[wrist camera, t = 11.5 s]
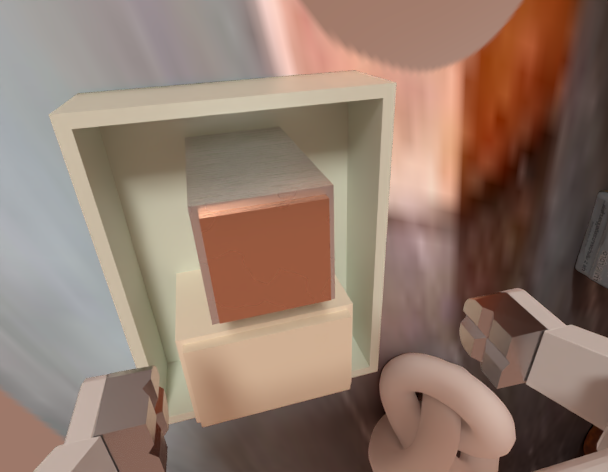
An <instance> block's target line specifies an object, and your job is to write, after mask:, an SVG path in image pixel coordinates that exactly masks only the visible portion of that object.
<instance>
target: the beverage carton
mask: <svg viewBox="0 0 608 472" xmlns="http://www.w3.org/2000/svg"><path fill="white" fill-rule="evenodd" d="M575 269H576V270H577V271H578V272H580V273H582V274H584V275H586V276H587V277H588V278H589V279H591V280H592V281H594V282H597V283H598V284H600V285H601V286H603V287H605V288H607V289H608V190H604V191H600V192H599V193H598V195H597V199H596V203H595V206H594V209H593V212H592V216H591V219H590V222H589V225H588V228H587V231H586V234H585V237H584V240H583V243H582V246H581V249H580V252H579V255H578V258H577V262H576V265H575Z"/></svg>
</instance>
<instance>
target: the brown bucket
mask: <svg viewBox="0 0 608 472" xmlns="http://www.w3.org/2000/svg"><path fill="white" fill-rule="evenodd" d="M603 432H604V431H603V430H601V429H600V428H598V427H596V426H595V425H593V427H592V428H591V429H590V431H589V433H588V435H587V437H586V439H585V441H584V447H583V449H584V454H585V455H588V454H591V453H594V452H598V451H597V443H598V441H599V439H600V437H601V435H602V433H603Z"/></svg>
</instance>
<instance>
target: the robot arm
mask: <svg viewBox="0 0 608 472" xmlns="http://www.w3.org/2000/svg"><path fill="white" fill-rule="evenodd" d="M463 311H464V312H465V314H466V315H467V316H466V317H465V319H464V320H463V321H462V322H461V324H460V331H459V334H460V338H461V342H462V344H463V346H464V348H465V350H466V351H467V353H468V354H469V355H470V357H472V358H474V359H476V360H478V361H480V362H481V370H482V371H483V373H484V374H485V375H486V376H487V378H488V379H489V380H490V381H491V382H492V384H493V385H494V386H495V387H496V389H499V388H503V387H508V386H512V385H516V384H521V383H525V382H526V384H527V385H528V386H530V387H532V388H533V389H535V390H537V391H538V392H540V393H542V394H543V395H545V396H547V397H548V398H550V399H552V400H553V401H555V402H557V403H558V404H560V405H562V406H563V407H565V408H567V409H568V410H570V411H572V412H573V413H575V414H577V415H578V416H580V417H582V418H583V419H585V420H587V421H588V422H590V423H592V424H593V425H595V426H596V427H598V428H600V429H601V430H603V431H604V432H603V433H602V435H601V437H600V439H599V441H598V443H597V451H598V452H594V453H591V454H588V455H585V456H582V457H578V458H575V459H572V460H569V461H565V462H562V463H559V464H556V465H552V466H549V467H546V468H543V469H540V470H536V471H533V472H608V338H607V337H604V336H601V335H598V334H596V333H593V332H590V331H588V330H585V329H582V328H579V327H577V326H574V325H567V326H566V325H565V324H564V323H563V322H562V321H560V320H559V319H558V318H557V317H556V316H554V315H553V314H552V313H551V312H550V311H548V310H547V309H546V308H545V307H544V306H542V305H541V304H540V303H539V302H538V301H537V300H535V299H534V298H533V297H532V296H531V295H529V294H528V293H527V292H526V291H525V290H523V289H520V288H515V289H511V290H506V291H502V292H497V293H493V294H488V295H484V296H479V297H475V298H470V299H468V300H467V301H466V302H465V305H464V309H463ZM159 379H160V376H159V373H158V370H157V367H156V366H154V365H153V366H148V367H142V368H137V369H131V370H126V371H121V372H115V373H110V374H107V375H102V376H96V377H91V378H86V379H85V380H84V382H83V383H82V385H81V388H80V391H79V394H78V398H77V401H76V405H75V408H74V412H73V415H72V418H71V422H70V425H69V429H68V432H67V436H66V439H65V443H64V445H60V446H56V447H55V449H54V450H53V451H52V452H51V453H50V454H49V455H48V456H47V457H46V458H45V459H44V461H43V462H42V463H41V464H40V465H39V466H38V467H37V468H36V469H35V470H34V471H33V472H166V466H167V448H168V447H167V444H166V441H165V438H164V435H165V434H166V432H167V431H168V428H169V413H168V403H167V398H166V394H165V391H164V389H163V388H161V387H160V386H159Z"/></svg>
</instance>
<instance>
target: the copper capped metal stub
mask: <svg viewBox="0 0 608 472" xmlns="http://www.w3.org/2000/svg"><path fill="white" fill-rule="evenodd" d="M185 157H186V183H187V208H188V212H189V217H190V222H191V226H192V231H193V236H194V241H195V245H196V250H197V255H198V260H199V264H200V269H201V274H202V279H203V283H204V288H205V293H206V298H207V302H208V307H209V312H210V316H211V321H212V325H214V324H218V323H220V324H221V323H226V322H231V321H236V320H240V319H245V318H250V317H254V316H259V315H264V314H268V313H273V312H278V311H282V310H287V309H292V308H296V307H301V306H306V305H310V304H315V303H320V302H324V301H329V300H331V299H335V251H334V185H333V184H332V183H331V182H330V181H329V180H328V178H327V177H326V176H325V175H324V174H323V173H322V172H321V171H320V170H319V169H318V168H317V167H316V165H315V164H314V163H313V162H312V161H311V160H310V159H309V158H308V157H307V156H306V155H305V154H304V152H303V151H302V150H301V149H300V148H299V147H298V146H297V145H296V144H295V143H294V142H293V141H292V140H291V138H290V137H289V136H288V135H287V134H286V133H285V132H284V131H283V130H282V129H281V128H280V127H271V128H263V129H254V130H245V131H237V132H228V133H220V134H211V135H202V136H194V137H185Z"/></svg>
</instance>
